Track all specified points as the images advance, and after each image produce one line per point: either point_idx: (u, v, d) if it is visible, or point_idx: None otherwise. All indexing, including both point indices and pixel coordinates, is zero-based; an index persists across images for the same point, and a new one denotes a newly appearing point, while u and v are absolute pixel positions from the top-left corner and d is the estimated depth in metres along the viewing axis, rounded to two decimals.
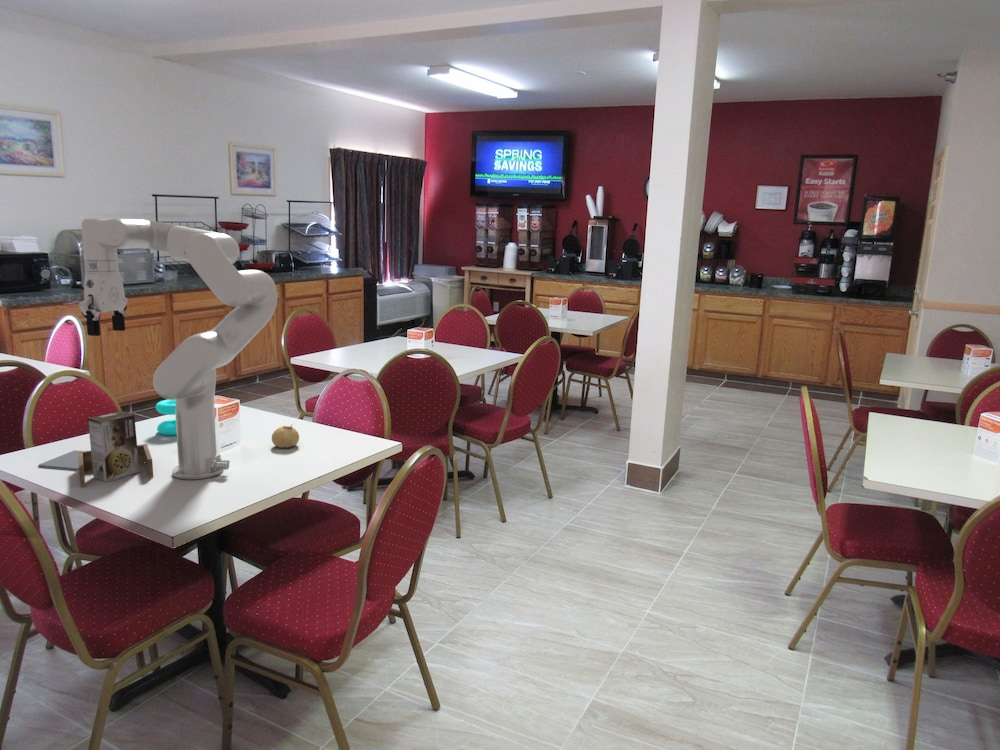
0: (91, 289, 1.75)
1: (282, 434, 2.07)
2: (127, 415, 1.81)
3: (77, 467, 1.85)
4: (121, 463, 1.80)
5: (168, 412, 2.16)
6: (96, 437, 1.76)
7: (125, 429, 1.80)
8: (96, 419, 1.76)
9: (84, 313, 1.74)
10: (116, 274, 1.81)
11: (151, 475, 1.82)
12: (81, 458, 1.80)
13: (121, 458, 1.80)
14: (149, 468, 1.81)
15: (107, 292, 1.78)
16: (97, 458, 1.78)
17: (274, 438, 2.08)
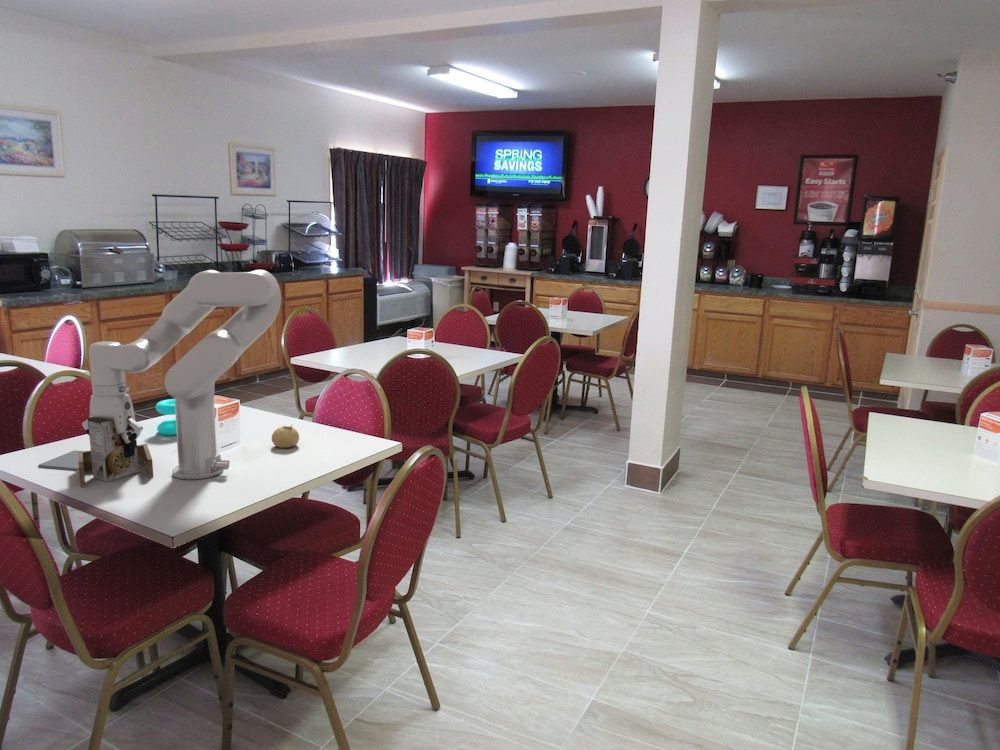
0: (129, 410, 1.79)
1: (282, 434, 2.07)
2: None
3: (77, 467, 1.85)
4: (121, 463, 1.80)
5: (168, 412, 2.16)
6: (96, 437, 1.76)
7: None
8: (96, 419, 1.76)
9: (137, 435, 1.79)
10: None
11: (151, 475, 1.82)
12: (81, 458, 1.80)
13: (121, 458, 1.80)
14: (149, 468, 1.81)
15: None
16: (97, 458, 1.78)
17: (274, 438, 2.08)
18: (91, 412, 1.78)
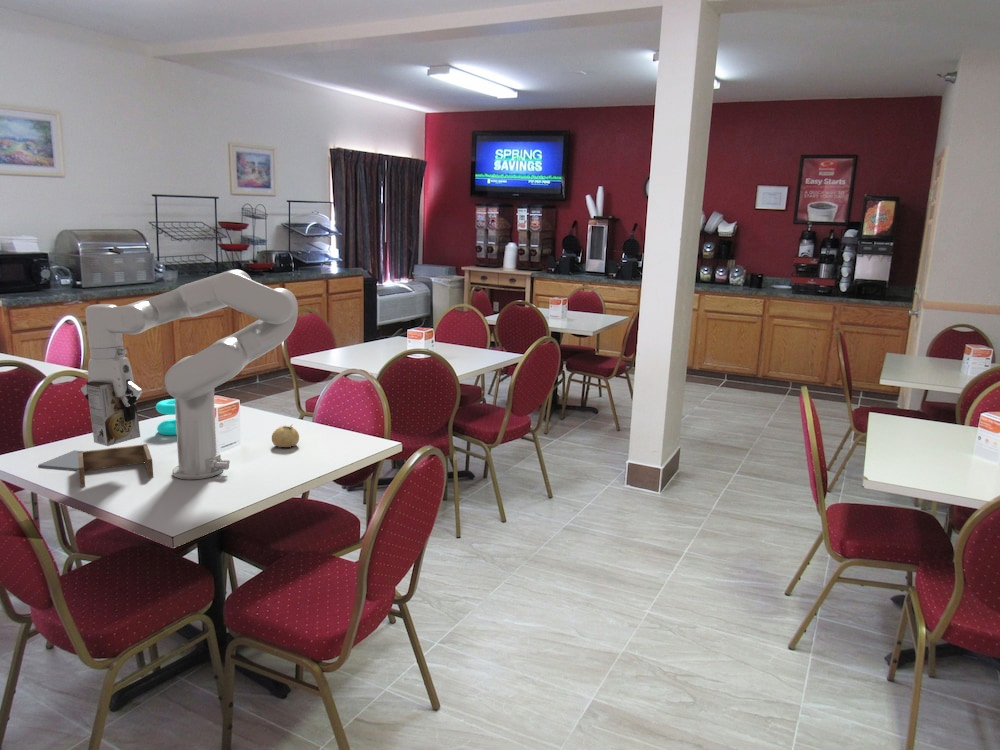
0: (128, 374, 1.77)
1: (282, 433, 2.07)
2: None
3: (77, 467, 1.85)
4: (121, 427, 1.78)
5: (168, 412, 2.16)
6: (95, 401, 1.75)
7: None
8: (94, 383, 1.74)
9: (137, 398, 1.78)
10: None
11: (151, 475, 1.82)
12: (81, 458, 1.80)
13: (121, 422, 1.78)
14: (149, 468, 1.81)
15: None
16: (97, 423, 1.76)
17: (274, 438, 2.08)
18: (90, 376, 1.76)
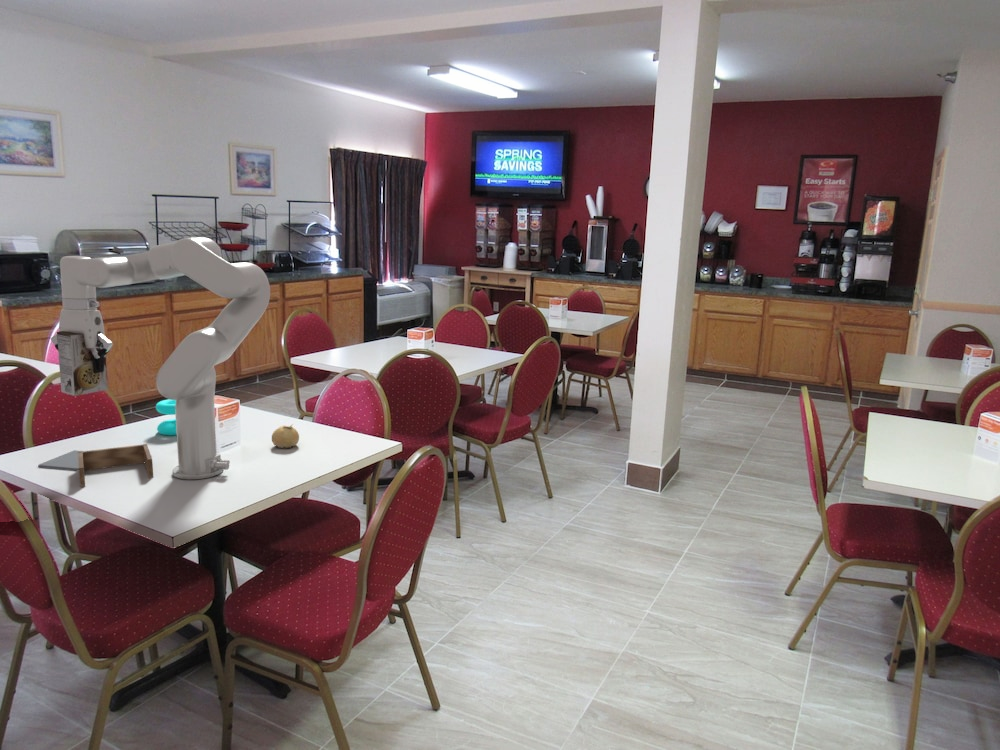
0: (99, 326, 1.80)
1: (282, 434, 2.07)
2: None
3: (77, 467, 1.85)
4: (89, 378, 1.81)
5: (168, 412, 2.16)
6: (65, 351, 1.77)
7: None
8: (65, 332, 1.77)
9: (107, 351, 1.80)
10: None
11: (151, 475, 1.82)
12: (81, 458, 1.80)
13: (89, 373, 1.81)
14: (149, 468, 1.81)
15: None
16: (66, 372, 1.79)
17: (274, 438, 2.08)
18: (61, 326, 1.78)
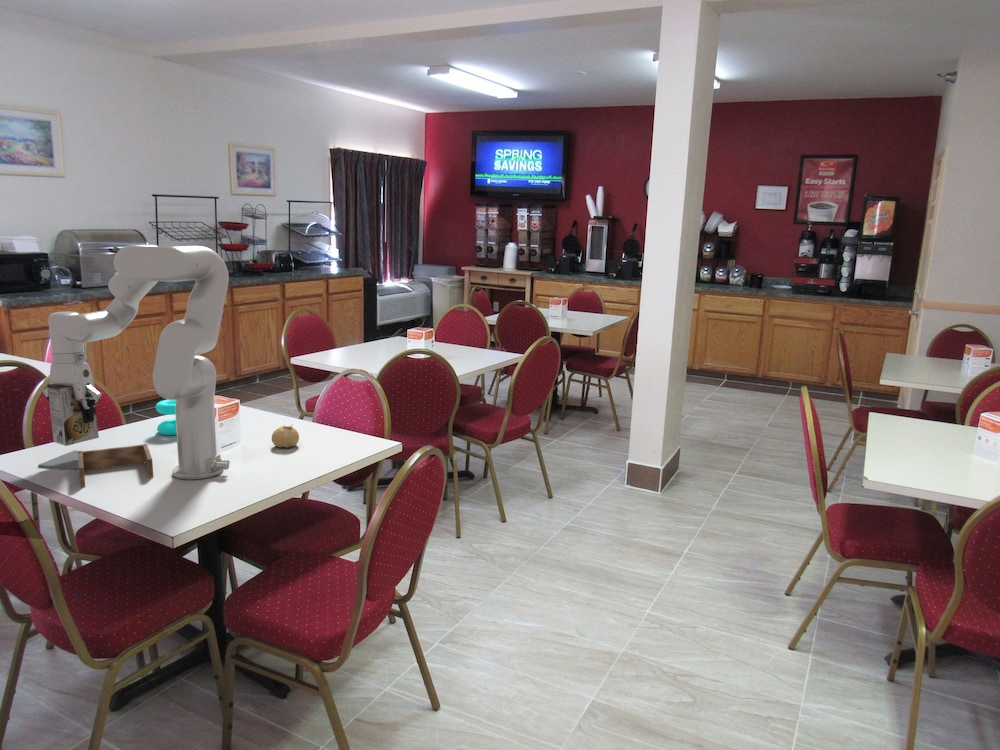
0: (88, 378, 1.87)
1: (282, 433, 2.07)
2: None
3: (77, 467, 1.85)
4: (80, 428, 1.88)
5: (168, 412, 2.16)
6: (55, 403, 1.84)
7: None
8: (55, 385, 1.84)
9: (96, 401, 1.87)
10: None
11: (151, 475, 1.82)
12: (81, 458, 1.80)
13: (80, 423, 1.88)
14: (149, 468, 1.81)
15: None
16: (57, 423, 1.86)
17: (274, 438, 2.08)
18: (51, 379, 1.86)
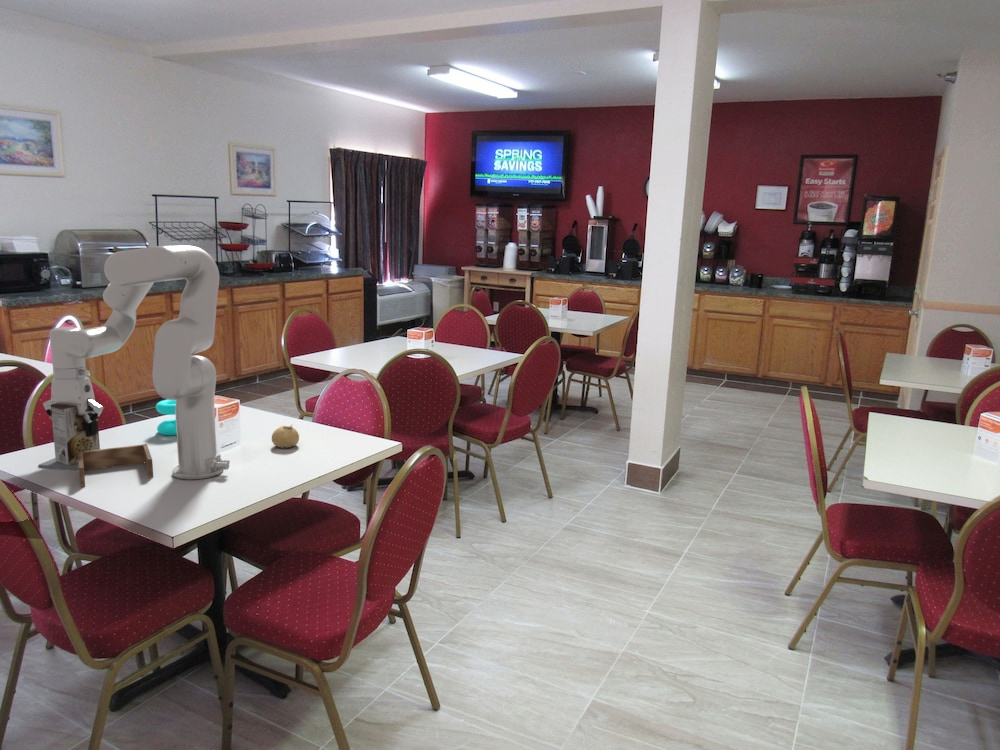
0: (89, 393, 1.88)
1: (282, 434, 2.07)
2: None
3: (77, 467, 1.85)
4: (82, 448, 1.89)
5: (169, 412, 2.16)
6: (58, 423, 1.85)
7: None
8: (59, 405, 1.85)
9: (98, 415, 1.88)
10: None
11: (151, 475, 1.82)
12: (81, 458, 1.80)
13: (82, 443, 1.89)
14: (149, 468, 1.81)
15: None
16: (60, 443, 1.87)
17: (274, 438, 2.08)
18: (52, 394, 1.87)
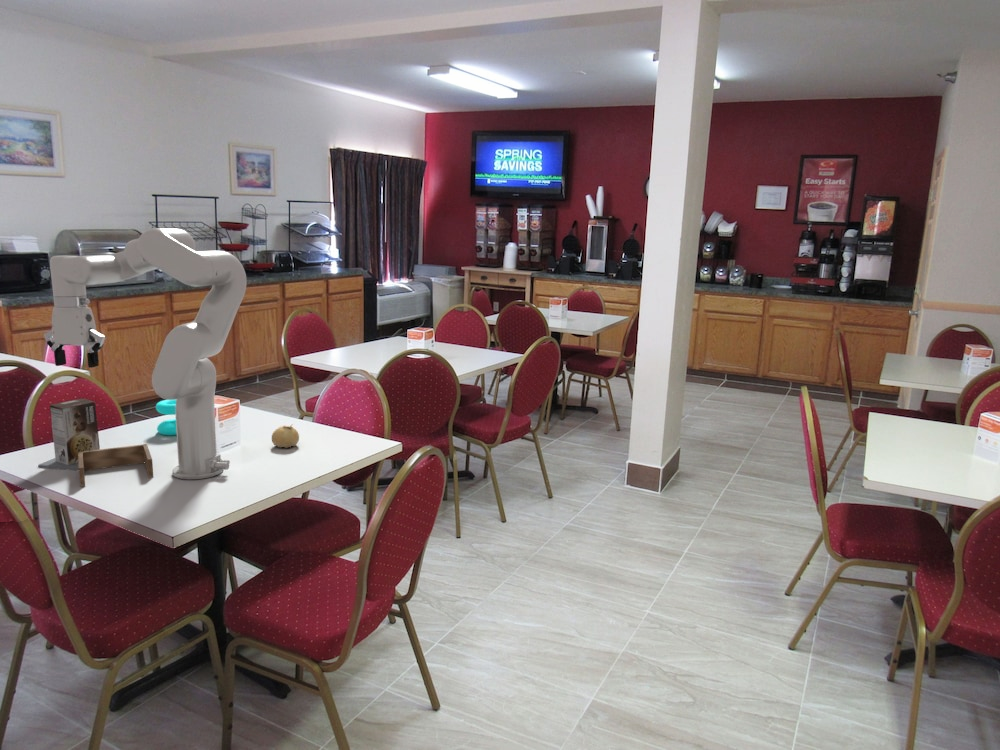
0: (90, 323, 1.85)
1: (282, 433, 2.07)
2: (88, 402, 1.90)
3: (77, 467, 1.85)
4: (82, 448, 1.89)
5: (168, 412, 2.16)
6: (58, 423, 1.85)
7: (86, 415, 1.89)
8: (58, 406, 1.85)
9: (101, 345, 1.85)
10: None
11: (151, 475, 1.82)
12: (81, 458, 1.80)
13: (82, 443, 1.89)
14: (149, 468, 1.81)
15: None
16: (59, 443, 1.87)
17: (274, 438, 2.08)
18: (53, 324, 1.84)
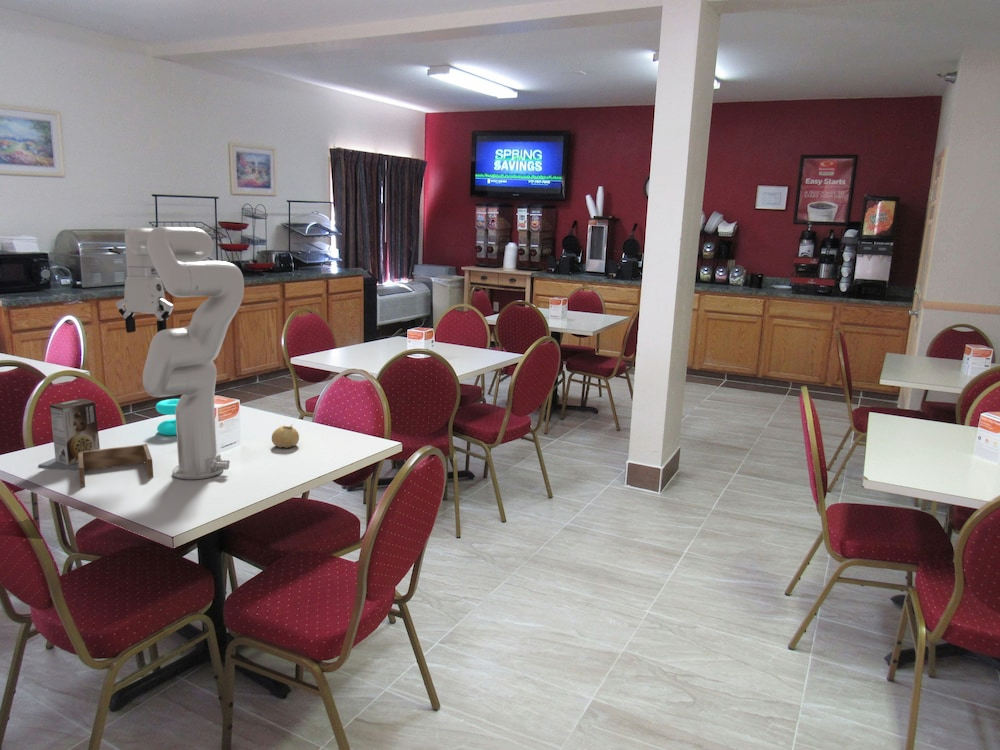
0: (160, 292, 1.96)
1: (282, 433, 2.07)
2: (88, 402, 1.90)
3: (77, 467, 1.85)
4: (82, 448, 1.89)
5: (168, 412, 2.16)
6: (58, 423, 1.85)
7: (86, 415, 1.89)
8: (58, 406, 1.85)
9: (169, 313, 1.96)
10: None
11: (151, 475, 1.82)
12: (81, 458, 1.80)
13: (82, 443, 1.89)
14: (149, 468, 1.81)
15: None
16: (59, 443, 1.87)
17: (274, 438, 2.08)
18: (126, 293, 1.95)
